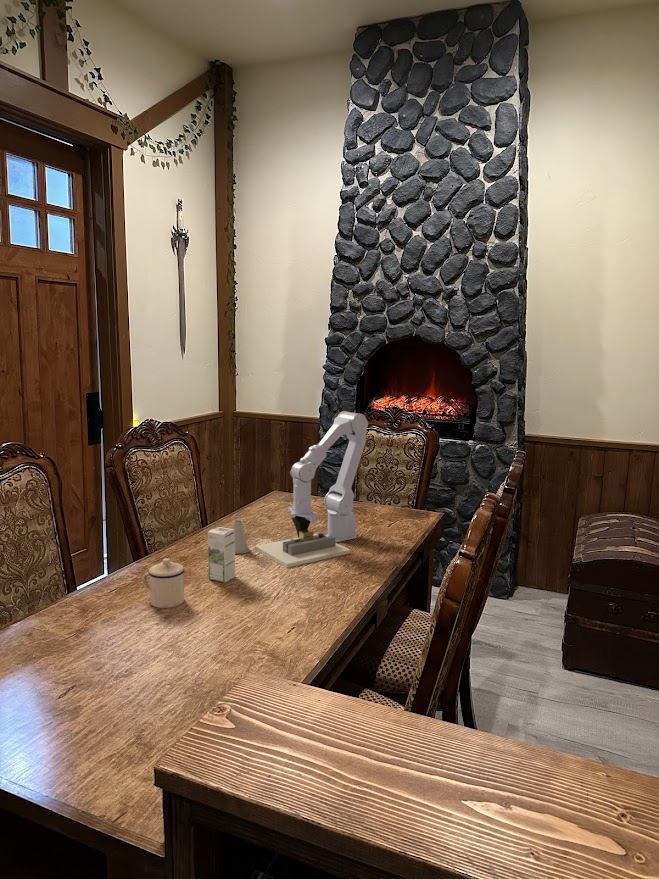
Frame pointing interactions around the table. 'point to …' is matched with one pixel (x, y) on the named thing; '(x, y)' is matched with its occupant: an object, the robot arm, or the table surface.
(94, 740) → the table surface
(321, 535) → the block
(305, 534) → the block
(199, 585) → the table surface
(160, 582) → the teacup with lid
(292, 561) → the hearth board
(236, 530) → the flask
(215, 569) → the syrup box
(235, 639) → the table surface
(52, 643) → the table surface
